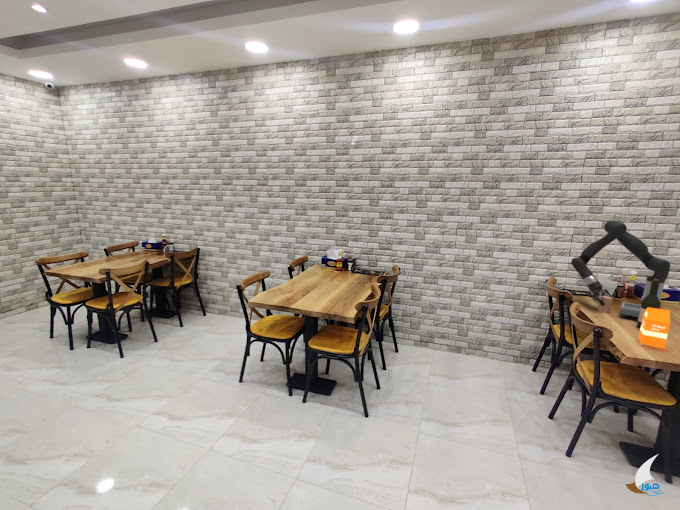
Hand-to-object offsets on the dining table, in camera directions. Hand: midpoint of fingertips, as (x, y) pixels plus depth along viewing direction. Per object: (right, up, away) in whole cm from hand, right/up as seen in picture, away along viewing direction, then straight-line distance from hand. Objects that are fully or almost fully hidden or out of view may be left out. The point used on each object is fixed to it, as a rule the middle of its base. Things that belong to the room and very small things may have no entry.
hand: (607, 304), depth 215 cm
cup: (+19, 0, +27) cm, 33 cm away
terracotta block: (-1, -5, +2) cm, 5 cm away
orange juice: (-13, -15, -43) cm, 48 cm away
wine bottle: (+2, -11, -24) cm, 26 cm away
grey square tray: (+10, -7, -8) cm, 15 cm away
